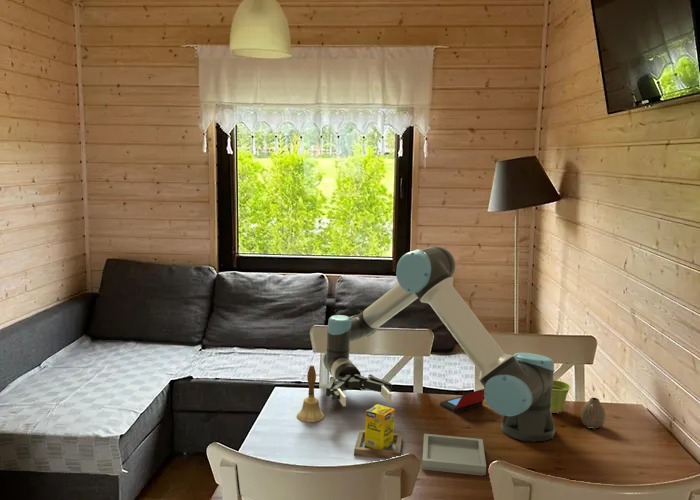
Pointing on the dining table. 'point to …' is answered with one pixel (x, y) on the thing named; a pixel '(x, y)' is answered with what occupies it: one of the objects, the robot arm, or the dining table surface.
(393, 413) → the supplement box
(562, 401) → the plant pot
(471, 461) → the grey tray
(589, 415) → the vase
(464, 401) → the handheld game console
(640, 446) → the dining table surface
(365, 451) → the walnut collar
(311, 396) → the hand bell
